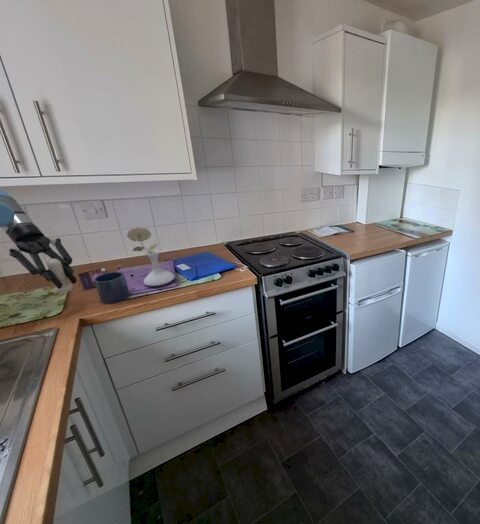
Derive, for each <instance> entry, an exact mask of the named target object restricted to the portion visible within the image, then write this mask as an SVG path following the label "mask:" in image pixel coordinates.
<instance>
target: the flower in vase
mask: <svg viewBox="0 0 480 524" xmlns="http://www.w3.org/2000/svg"><path fill="white" fill-rule="evenodd" d="M126 237H127V238H128V239H129V240H130V241H133V242H140V243H141V246H135V247H134V248H133V249H132V252H142V251H144V250H145V251H147V252H145V253H144V255H145V256H147V258H149V260H150V262H151V264H152V270H151V271H150V273H149V274H147V275H146V277H145V278H144V279H143V284H144V285H145V286H148V287H159V286H164V285H167V284H169V283H171V282H172V281H173V280H175V274H173V272H171V271H169V270H165V269H163V268H162V267H160V264H159V254H160V251H159V250H154V249H156V247H157V246H158V243H155V244H152V245H151V246H150V247H149V249H147V248H146V247H145V246H144V243H143V242H144V241H147V240H148V239H151V237H152V232H151V231H150V230H149V229H148V228H146V227H145V228H144V227H142V226H140V227H138V226H135V227H132V228H131V229H129V230H128V231H127V235H126Z"/></svg>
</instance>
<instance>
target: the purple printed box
mask: <svg viewBox="0 0 480 524" xmlns="http://www.w3.org/2000/svg"><path fill="white" fill-rule="evenodd" d="M101 272H102V273H101ZM90 273H92V274H93V276H92V277H91V275H90ZM106 273H108V270H107V268H106V267H101V268H98V269H97V268H96V269H92V270H89V271H84V272H80V273H78V274H77V275H78V277H79V278H78V279H79V280H80V284H81V285H82V288H83V290H89V289H92V288H95V287H96V286H95V283H94V279H95V278H96V277H97V276H100V275H102V274H106Z"/></svg>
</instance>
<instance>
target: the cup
mask: <svg viewBox="0 0 480 524" xmlns="http://www.w3.org/2000/svg"><path fill="white" fill-rule="evenodd" d="M101 274H102V275H100V276H97V277H96V278H95V279H94V283H93V284H94V286H96V288H95V289H96V291H97V293H98V296H99V300H100V301H101V303H102V304H114V303H119V302H121V301H124V300H127V299H128V297H130V295H131V292H130V289H129V285H128V283H127V280H126V277H125V274H124V273H123V272H122V271H121V272H120V271H109V272H107V273H106V274H103V273H101Z"/></svg>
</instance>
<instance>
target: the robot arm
mask: <svg viewBox="0 0 480 524" xmlns="http://www.w3.org/2000/svg"><path fill="white" fill-rule="evenodd" d="M0 228H1V229H2V230H3V231H4V233H5V234H6V235H7V236H8V238H9V239H10V240H11V241H12V242H13V243H14V244H15V247H14V248H9V249H8V255H9V256H10V257H12V258H14V259H15V260H17V262H19V263H20V264H21V265H22V266H23V267H24V268H25V269H26V270H27V271H28V272H29V273H30V274H31V275H33V276H36V275H39V276H42V277H43V278H44V279H45V281H46V282H52V283H53V284H54V286H55V288H56V287H57V288H58V289H60V288H61V287H62V283H61V282H60V281H59V279H58V278H57V277H56V276H55V275H54V274H53V272H52V271H51V270H50V269H49V268H48V269H46V267H45V264H44V263H43V261H42V259H41V257H40V254H44V255H46V256H48V258H50V259H58V260H59V261H60V262H61V264H62V266H63V269H64V271H65V274H66V276H67V279H68V281H70V282H71V284H72V285H75V284H77V280H78V278H77V277H76V276H75V275H74V269H73V268H72V266H70V265H72V263H73V258H72V256H71V255H70V254H69V252H68V251H67V249H66V248H65V247H64V246H63V243H62V240H61V238H59V237H57V238H55V239H50V238H49V237H47V236H46V235H45V233H43V231H42V230H41V229H40V228H39V226H37V224H36V223H35V222H34V221H33V220H32V218H31V217H30V216H29V214H27V213H26V212H25V210H24V209H23V208H22V206H20V204H19V203H18V202H17V200H16V199H15V198H13V197H12V195H11V194H9V193H8V192H7V191H5V190H3V189H0ZM50 245H52V246H53V247H55V250H56V251H57V252H58V253H57V252H56V251H54V250H53V249H52V247H51V246H50ZM22 252H23V253H26V254H29V256H30V258H31V259H32V261H33V263H34V264H35V265H34V264H33V263H32V262H31V261H30V260H29V258H27V257H26V256H25V255H24V254H23V253H22Z"/></svg>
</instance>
